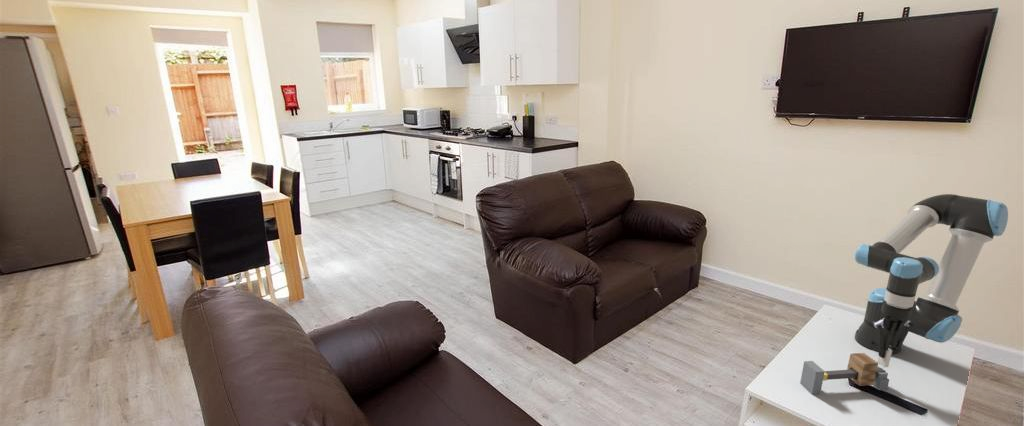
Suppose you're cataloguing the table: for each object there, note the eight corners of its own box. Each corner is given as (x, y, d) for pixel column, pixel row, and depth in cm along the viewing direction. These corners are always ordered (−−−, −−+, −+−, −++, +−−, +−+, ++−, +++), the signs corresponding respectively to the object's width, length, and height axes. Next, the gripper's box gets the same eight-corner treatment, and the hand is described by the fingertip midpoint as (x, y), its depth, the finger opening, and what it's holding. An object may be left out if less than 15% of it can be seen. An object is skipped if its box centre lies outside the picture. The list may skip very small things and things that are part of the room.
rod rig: (872, 378, 164) (877, 356, 161) (886, 389, 158) (892, 367, 156) (800, 383, 162) (804, 361, 160) (811, 394, 157) (816, 371, 154)
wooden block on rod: (859, 374, 163) (864, 352, 160) (873, 384, 157) (878, 363, 155) (845, 374, 163) (850, 353, 160) (859, 385, 157) (864, 364, 154)
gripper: (906, 297, 156) (891, 357, 163) (869, 299, 155) (856, 359, 162) (926, 308, 149) (910, 370, 155) (888, 310, 148) (873, 372, 155)
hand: (882, 364), depth 159 cm, fingers closed
